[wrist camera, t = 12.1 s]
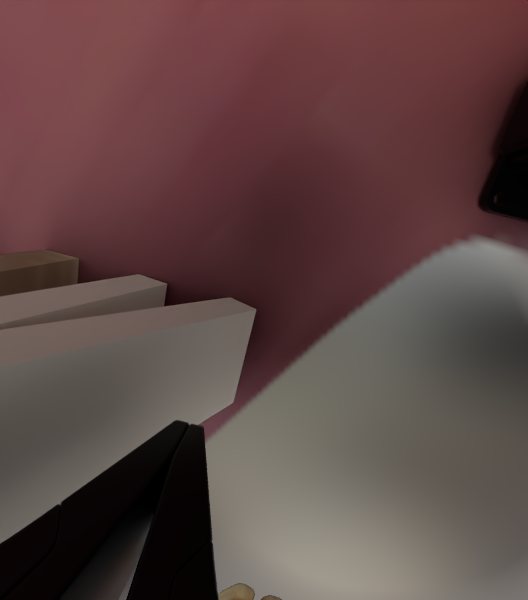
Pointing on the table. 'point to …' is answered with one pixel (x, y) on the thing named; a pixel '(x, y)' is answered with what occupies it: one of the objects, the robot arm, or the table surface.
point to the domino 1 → (36, 271)
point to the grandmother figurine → (241, 593)
